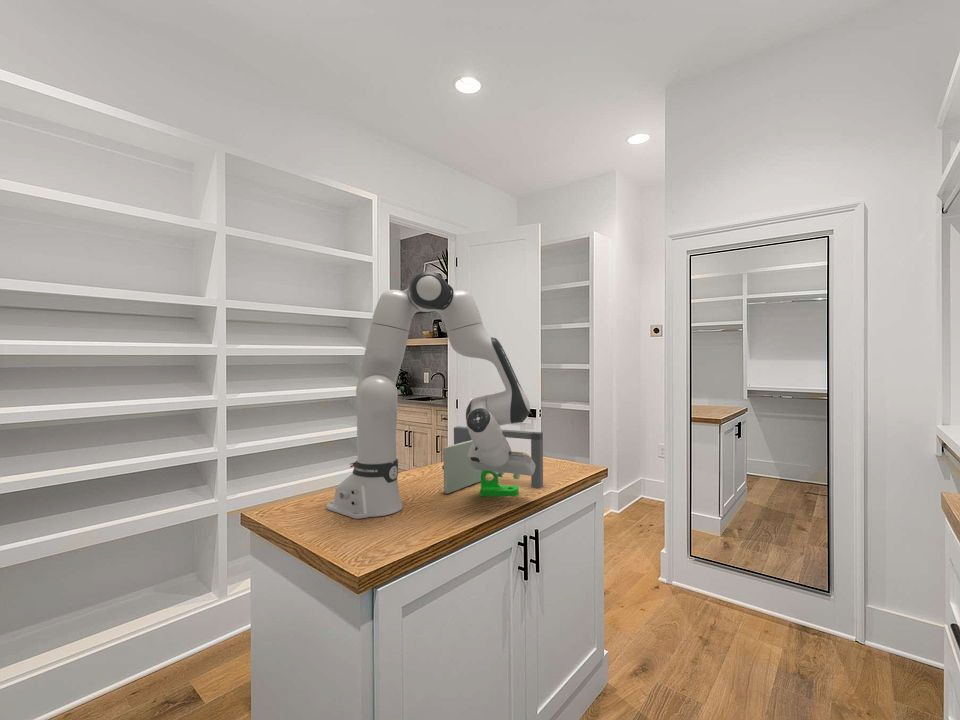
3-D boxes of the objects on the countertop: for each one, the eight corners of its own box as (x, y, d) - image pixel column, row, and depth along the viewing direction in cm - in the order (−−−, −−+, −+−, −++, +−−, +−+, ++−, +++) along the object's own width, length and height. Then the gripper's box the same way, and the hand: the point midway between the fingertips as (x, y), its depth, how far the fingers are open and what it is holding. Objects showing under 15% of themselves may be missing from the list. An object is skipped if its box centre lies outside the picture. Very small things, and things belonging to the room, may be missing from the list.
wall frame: (454, 477, 172) (453, 427, 172) (458, 475, 175) (457, 426, 174) (540, 488, 157) (539, 433, 157) (543, 486, 160) (542, 432, 160)
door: (474, 479, 167) (474, 438, 167) (481, 480, 166) (481, 439, 165) (440, 491, 153) (439, 446, 153) (447, 493, 151) (446, 447, 151)
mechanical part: (480, 497, 150) (479, 471, 149) (481, 491, 156) (481, 467, 155) (518, 497, 149) (518, 471, 149) (518, 491, 155) (518, 467, 155)
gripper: (531, 445, 139) (542, 471, 148) (469, 439, 149) (483, 464, 157) (525, 463, 135) (537, 489, 144) (462, 457, 145) (477, 481, 154)
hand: (509, 476), depth 151 cm, fingers open, 4 cm apart
